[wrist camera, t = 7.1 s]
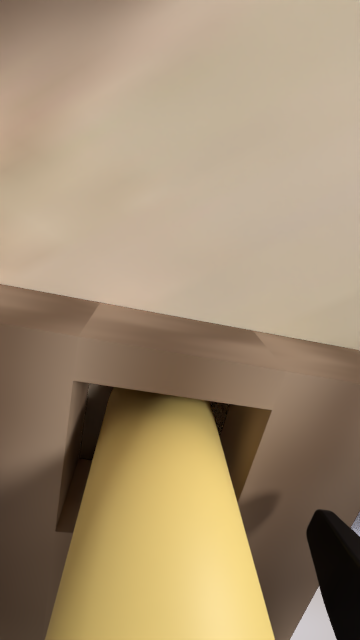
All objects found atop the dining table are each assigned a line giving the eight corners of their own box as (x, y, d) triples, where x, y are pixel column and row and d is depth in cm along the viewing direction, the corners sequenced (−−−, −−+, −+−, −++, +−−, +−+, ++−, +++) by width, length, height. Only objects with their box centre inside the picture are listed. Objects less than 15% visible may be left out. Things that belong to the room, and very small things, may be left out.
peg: (220, 373, 11) (340, 679, 4) (196, 456, 13) (253, 807, 5) (115, 356, 11) (21, 672, 3) (101, 444, 12) (8, 818, 5)
